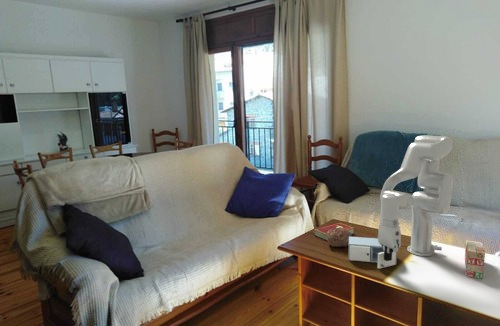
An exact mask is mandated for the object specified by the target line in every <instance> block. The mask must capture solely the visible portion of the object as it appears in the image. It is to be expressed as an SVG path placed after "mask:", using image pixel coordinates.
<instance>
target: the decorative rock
mask: <svg viewBox="0 0 500 326" xmlns="http://www.w3.org/2000/svg"><path fill="white" fill-rule="evenodd" d="M326 235H327V237H328V240H327V243H328V244H329V246H331V247H333V248H334V247H336V248H340V247H347V246H349V237H353V236H352V234H351V233H350V231H349V230H348V229H345V228H343V229H342V228H341V229H331V230H328V232H327V234H326Z"/></svg>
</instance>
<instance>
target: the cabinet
mask: <svg viewBox="0 0 500 326" xmlns="http://www.w3.org/2000/svg"><path fill="white" fill-rule="evenodd" d="M381 252H384V251H383V247H382V246H381V245H380V244H379V242H378V237H377V238H375V237H361V236H352V237H349V243H348V261H354V262H364V263H365V262H366V263H376V264H377V263H378V253H381Z"/></svg>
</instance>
